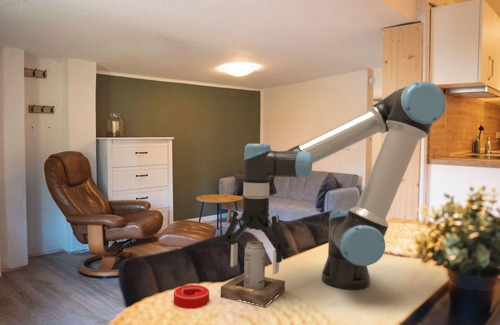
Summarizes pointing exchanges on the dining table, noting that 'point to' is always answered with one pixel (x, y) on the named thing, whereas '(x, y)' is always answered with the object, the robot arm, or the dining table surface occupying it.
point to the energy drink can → (254, 265)
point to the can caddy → (263, 297)
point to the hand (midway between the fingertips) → (254, 269)
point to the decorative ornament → (191, 296)
